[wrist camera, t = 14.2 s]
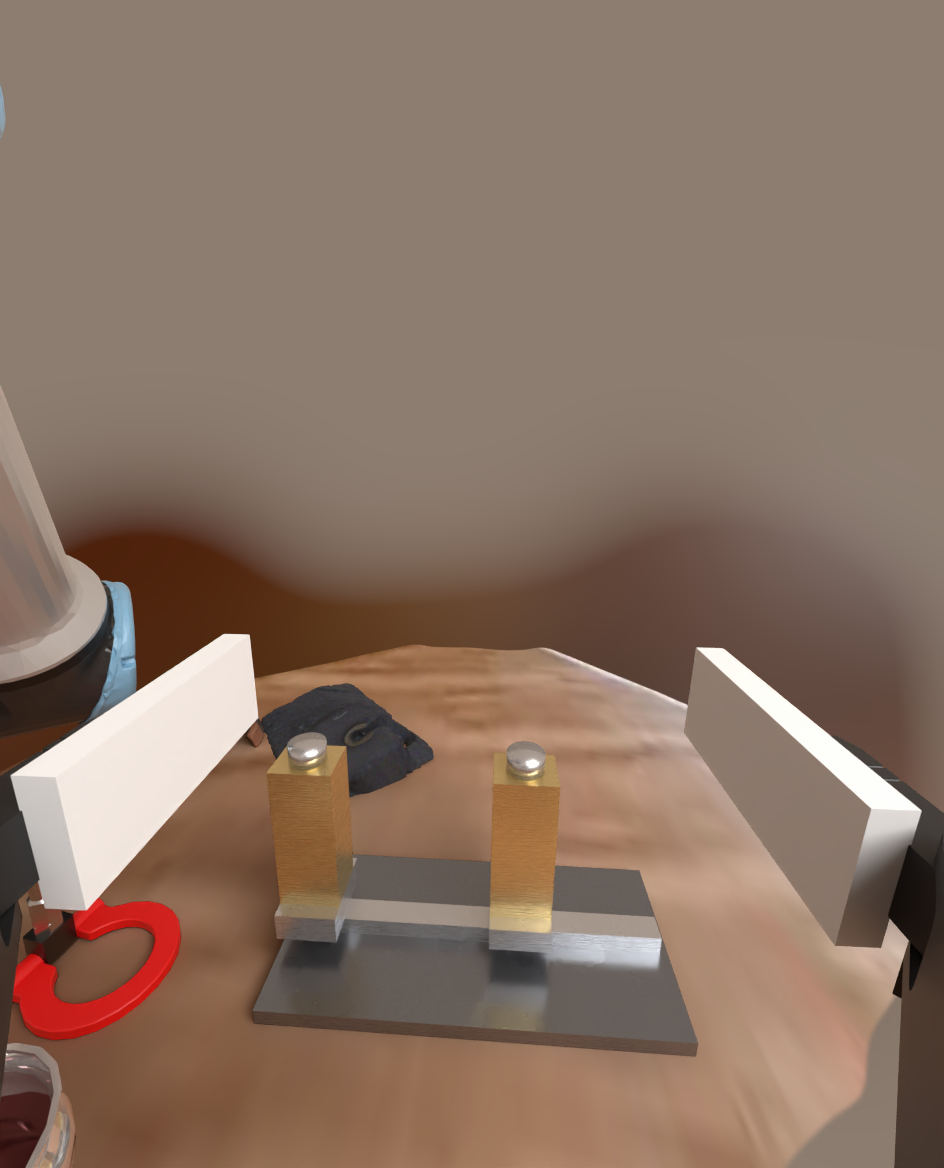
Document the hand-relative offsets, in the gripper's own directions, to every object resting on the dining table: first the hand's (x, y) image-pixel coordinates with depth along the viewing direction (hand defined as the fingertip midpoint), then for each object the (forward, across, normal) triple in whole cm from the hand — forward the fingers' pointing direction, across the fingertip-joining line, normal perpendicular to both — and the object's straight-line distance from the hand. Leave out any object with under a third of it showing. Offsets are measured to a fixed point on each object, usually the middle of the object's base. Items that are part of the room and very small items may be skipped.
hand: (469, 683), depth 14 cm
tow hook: (+11, -24, -27) cm, 38 cm away
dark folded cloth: (+38, -17, -28) cm, 50 cm away
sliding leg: (+15, +3, -25) cm, 29 cm away
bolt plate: (+14, 0, -27) cm, 30 cm away
